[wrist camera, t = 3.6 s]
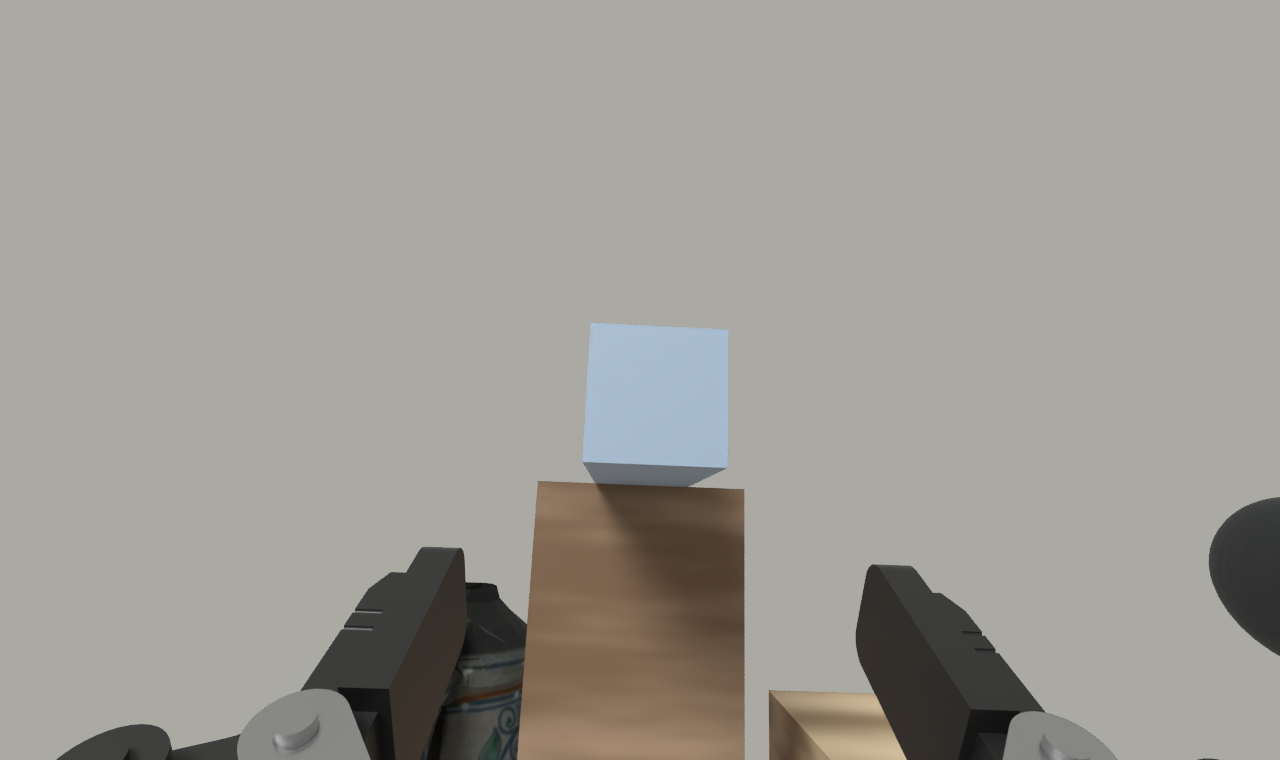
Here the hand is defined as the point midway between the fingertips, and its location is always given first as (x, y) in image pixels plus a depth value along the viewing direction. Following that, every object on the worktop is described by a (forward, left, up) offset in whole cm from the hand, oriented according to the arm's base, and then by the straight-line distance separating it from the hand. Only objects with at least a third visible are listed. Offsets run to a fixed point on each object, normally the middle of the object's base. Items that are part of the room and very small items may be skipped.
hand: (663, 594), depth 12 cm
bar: (-13, -9, +3) cm, 16 cm away
